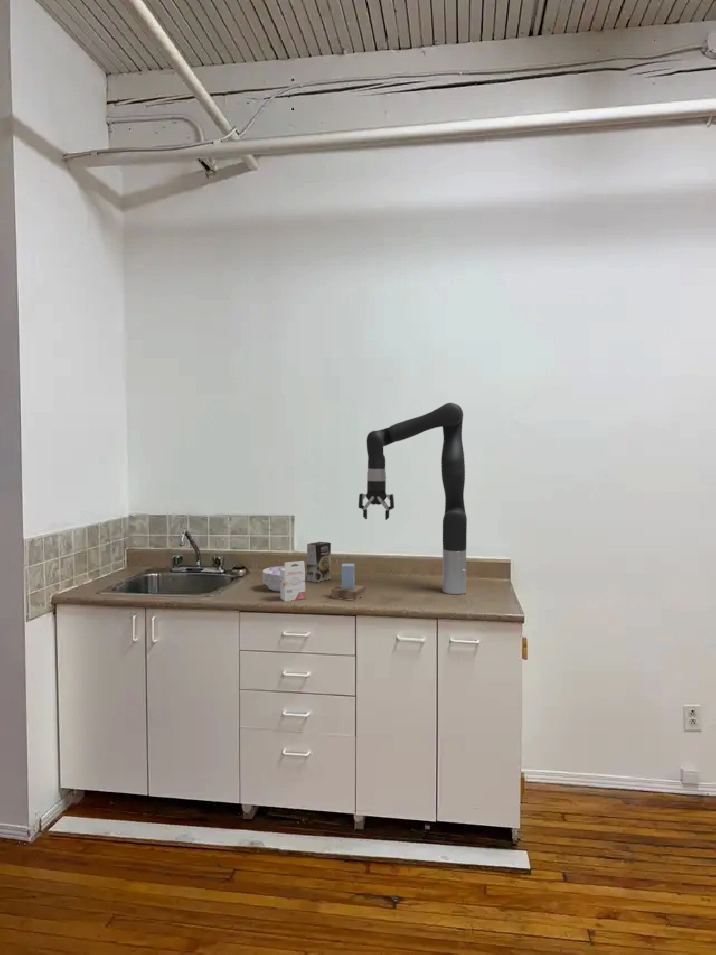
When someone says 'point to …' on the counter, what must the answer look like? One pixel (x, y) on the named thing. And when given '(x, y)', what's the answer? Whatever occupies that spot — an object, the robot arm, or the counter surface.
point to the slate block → (347, 576)
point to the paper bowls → (272, 577)
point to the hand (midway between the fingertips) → (376, 519)
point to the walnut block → (348, 592)
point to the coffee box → (318, 561)
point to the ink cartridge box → (292, 581)
